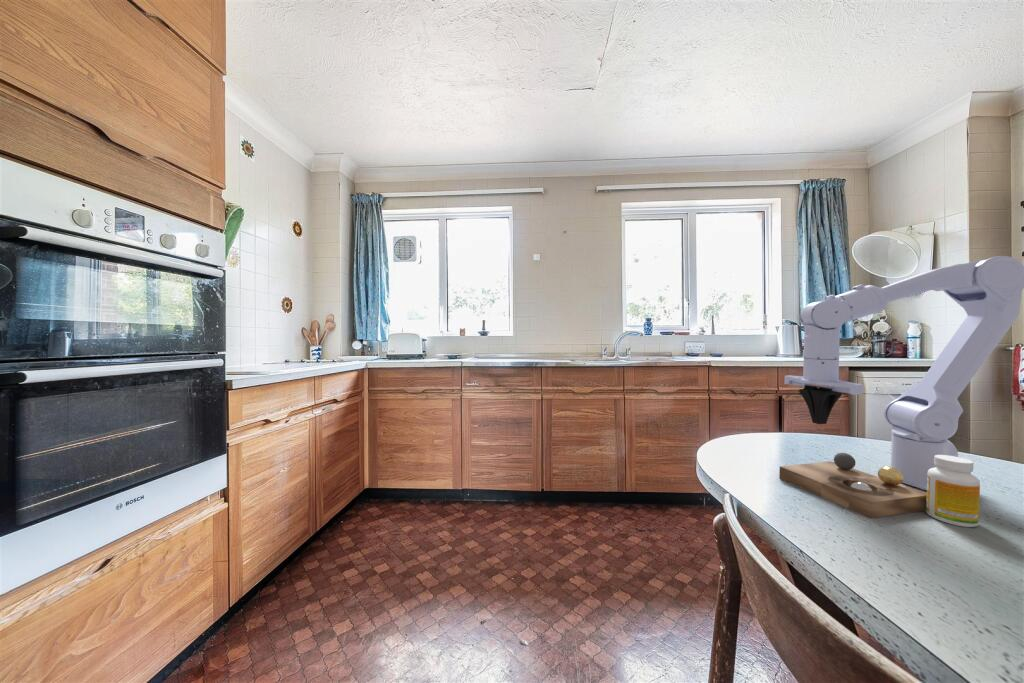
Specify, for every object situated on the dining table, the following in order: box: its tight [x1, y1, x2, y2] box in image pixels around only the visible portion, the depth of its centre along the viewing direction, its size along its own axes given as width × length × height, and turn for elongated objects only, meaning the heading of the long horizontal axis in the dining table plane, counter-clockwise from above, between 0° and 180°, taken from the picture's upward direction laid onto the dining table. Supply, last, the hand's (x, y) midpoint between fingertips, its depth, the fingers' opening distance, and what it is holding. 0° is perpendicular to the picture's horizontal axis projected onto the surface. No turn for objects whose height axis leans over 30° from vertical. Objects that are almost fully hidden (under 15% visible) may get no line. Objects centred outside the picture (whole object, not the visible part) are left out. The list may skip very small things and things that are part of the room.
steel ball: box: [850, 482, 873, 491], centre depth 65 cm, size 3×3×3 cm
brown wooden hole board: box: [778, 461, 927, 519], centre depth 68 cm, size 13×16×2 cm
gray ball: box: [833, 452, 856, 470], centre depth 73 cm, size 3×3×3 cm
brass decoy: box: [877, 465, 903, 486], centre depth 66 cm, size 3×3×3 cm
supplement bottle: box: [925, 455, 981, 528], centre depth 59 cm, size 5×5×10 cm
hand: (819, 423), depth 78 cm, fingers closed
